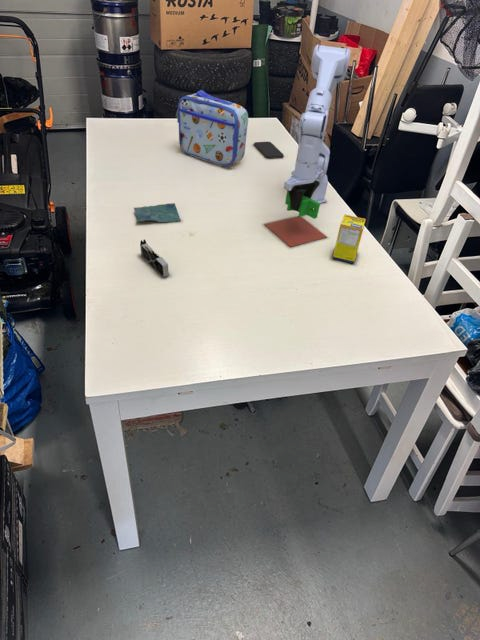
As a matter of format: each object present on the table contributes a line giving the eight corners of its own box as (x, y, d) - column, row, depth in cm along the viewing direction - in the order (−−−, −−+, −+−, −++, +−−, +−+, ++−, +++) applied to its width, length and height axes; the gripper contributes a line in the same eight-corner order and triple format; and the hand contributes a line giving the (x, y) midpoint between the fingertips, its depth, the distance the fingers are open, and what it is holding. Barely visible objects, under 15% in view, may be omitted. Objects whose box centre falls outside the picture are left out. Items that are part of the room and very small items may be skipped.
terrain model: (175, 208, 141) (175, 202, 139) (180, 221, 135) (180, 216, 134) (132, 212, 137) (132, 206, 136) (136, 226, 132) (136, 220, 131)
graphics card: (141, 256, 121) (135, 242, 117) (149, 252, 122) (143, 237, 118) (163, 279, 114) (158, 264, 110) (172, 273, 115) (167, 259, 111)
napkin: (299, 216, 143) (299, 215, 143) (326, 237, 134) (326, 236, 134) (264, 224, 137) (264, 223, 137) (290, 247, 129) (290, 246, 129)
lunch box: (171, 152, 174) (170, 89, 159) (188, 144, 181) (188, 83, 166) (232, 172, 164) (236, 107, 149) (247, 163, 171) (253, 100, 156)
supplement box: (356, 253, 129) (366, 218, 122) (353, 264, 125) (363, 228, 117) (335, 248, 130) (344, 213, 123) (332, 259, 126) (340, 223, 119)
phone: (270, 141, 187) (284, 155, 177) (269, 143, 188) (284, 157, 177) (253, 142, 185) (266, 156, 174) (252, 144, 185) (266, 158, 175)
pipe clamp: (279, 206, 133) (281, 191, 130) (287, 203, 136) (289, 188, 133) (308, 221, 128) (311, 206, 125) (317, 217, 130) (320, 202, 127)
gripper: (312, 149, 128) (304, 194, 137) (278, 161, 119) (271, 209, 128) (332, 157, 124) (323, 203, 133) (299, 170, 116) (291, 218, 125)
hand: (299, 206), depth 131 cm, fingers closed on pipe clamp, 4 cm apart
